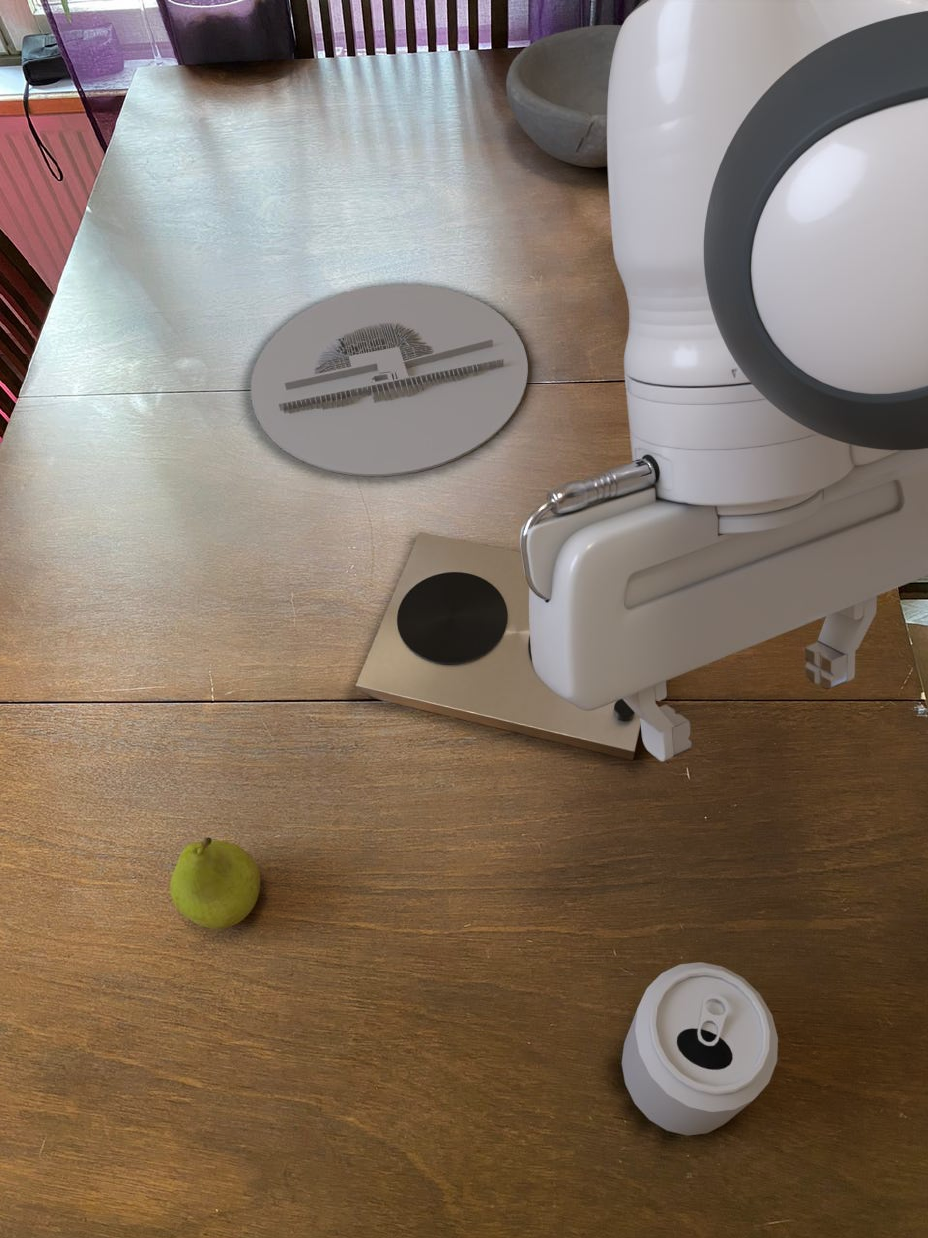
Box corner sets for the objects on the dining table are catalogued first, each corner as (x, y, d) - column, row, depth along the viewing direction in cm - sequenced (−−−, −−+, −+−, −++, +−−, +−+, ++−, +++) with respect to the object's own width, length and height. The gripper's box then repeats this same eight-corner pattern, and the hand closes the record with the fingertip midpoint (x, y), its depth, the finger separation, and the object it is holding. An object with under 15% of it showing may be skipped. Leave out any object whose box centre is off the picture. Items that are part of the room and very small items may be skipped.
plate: (264, 501, 89) (261, 492, 88) (241, 312, 105) (238, 303, 104) (559, 444, 91) (559, 434, 90) (493, 267, 107) (492, 257, 106)
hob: (670, 592, 81) (674, 576, 79) (632, 760, 72) (635, 746, 70) (420, 542, 85) (418, 525, 83) (357, 695, 77) (353, 680, 75)
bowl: (704, 104, 123) (716, 19, 115) (686, 206, 111) (698, 120, 103) (526, 93, 127) (526, 10, 119) (490, 191, 115) (487, 106, 107)
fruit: (178, 882, 69) (118, 814, 59) (256, 848, 70) (210, 776, 60) (199, 957, 66) (140, 899, 56) (281, 920, 67) (237, 857, 57)
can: (605, 1108, 59) (620, 1072, 49) (639, 988, 63) (659, 933, 53) (727, 1158, 57) (768, 1132, 47) (755, 1032, 61) (798, 983, 51)
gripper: (555, 521, 33) (596, 835, 40) (988, 379, 40) (966, 669, 46) (478, 481, 39) (525, 763, 45) (870, 360, 45) (865, 622, 51)
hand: (751, 714), depth 45 cm, fingers open, 8 cm apart
